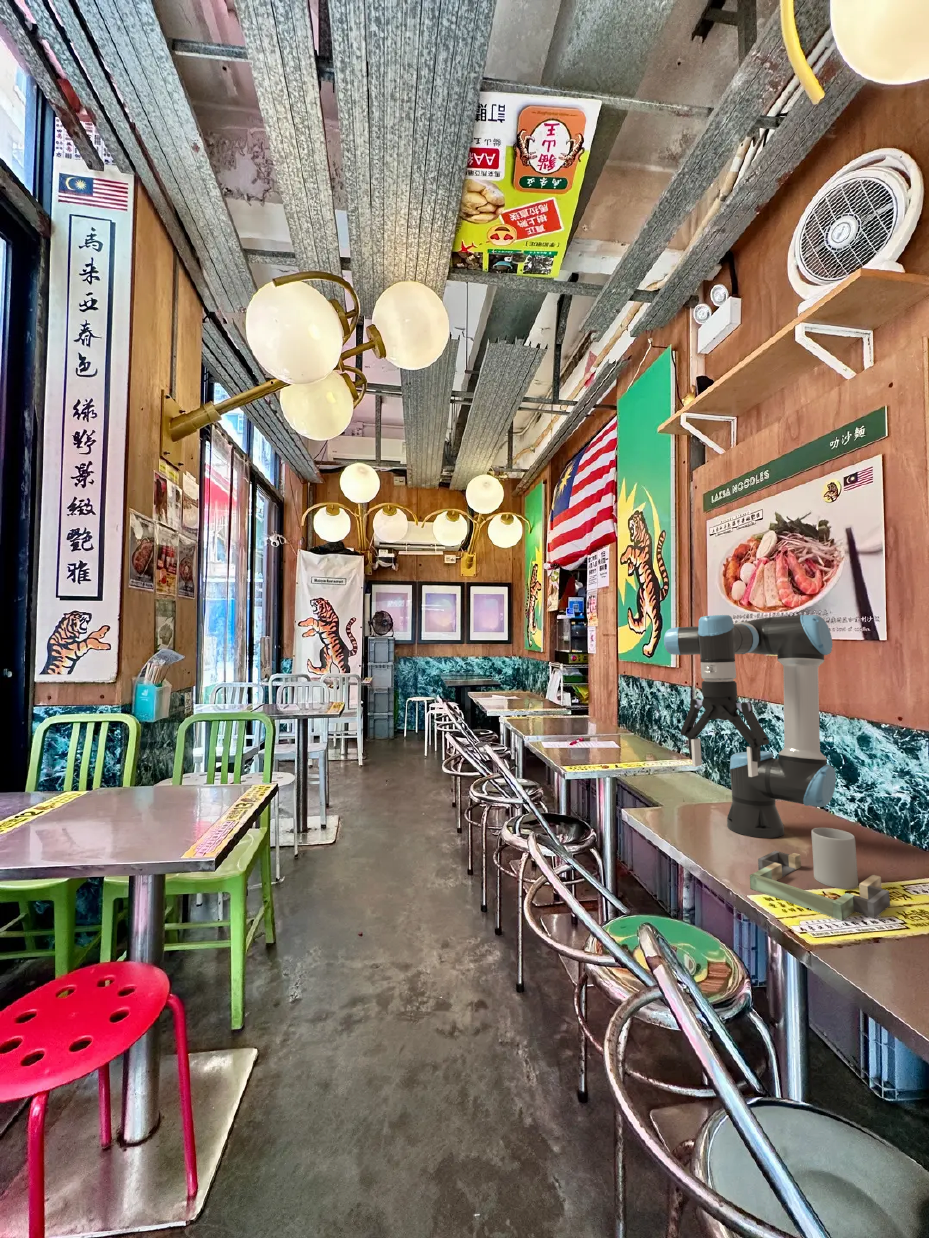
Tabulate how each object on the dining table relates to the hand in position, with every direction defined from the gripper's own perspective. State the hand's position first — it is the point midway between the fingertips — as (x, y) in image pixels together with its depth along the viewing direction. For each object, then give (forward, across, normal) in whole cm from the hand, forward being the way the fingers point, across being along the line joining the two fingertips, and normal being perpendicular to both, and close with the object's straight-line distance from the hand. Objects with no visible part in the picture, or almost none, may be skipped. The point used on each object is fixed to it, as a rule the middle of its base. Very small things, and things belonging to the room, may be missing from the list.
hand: (723, 770), depth 123 cm
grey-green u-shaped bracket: (+26, +12, +13) cm, 32 cm away
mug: (+27, +12, +23) cm, 37 cm away
